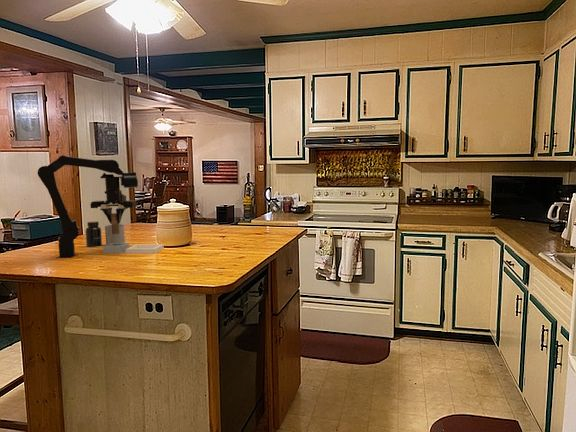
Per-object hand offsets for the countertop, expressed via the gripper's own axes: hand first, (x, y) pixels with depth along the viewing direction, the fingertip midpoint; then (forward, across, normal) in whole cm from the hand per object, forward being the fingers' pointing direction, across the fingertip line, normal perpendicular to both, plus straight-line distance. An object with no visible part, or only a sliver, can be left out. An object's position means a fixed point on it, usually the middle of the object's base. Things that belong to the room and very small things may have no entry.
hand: (115, 223), depth 193 cm
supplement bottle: (+13, +17, -13) cm, 25 cm away
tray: (+13, -12, -1) cm, 18 cm away
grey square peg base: (+13, 0, 0) cm, 13 cm away
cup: (+13, +7, -14) cm, 20 cm away
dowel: (+4, 0, 0) cm, 4 cm away
